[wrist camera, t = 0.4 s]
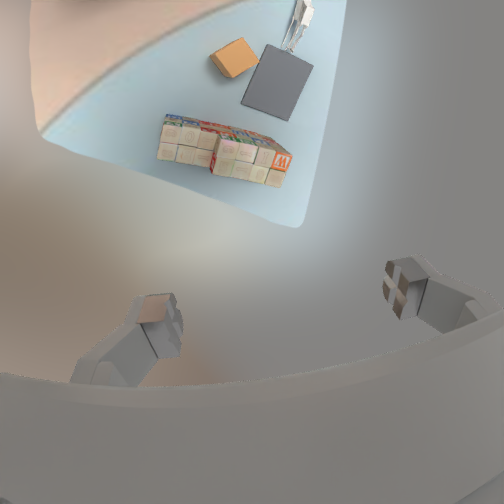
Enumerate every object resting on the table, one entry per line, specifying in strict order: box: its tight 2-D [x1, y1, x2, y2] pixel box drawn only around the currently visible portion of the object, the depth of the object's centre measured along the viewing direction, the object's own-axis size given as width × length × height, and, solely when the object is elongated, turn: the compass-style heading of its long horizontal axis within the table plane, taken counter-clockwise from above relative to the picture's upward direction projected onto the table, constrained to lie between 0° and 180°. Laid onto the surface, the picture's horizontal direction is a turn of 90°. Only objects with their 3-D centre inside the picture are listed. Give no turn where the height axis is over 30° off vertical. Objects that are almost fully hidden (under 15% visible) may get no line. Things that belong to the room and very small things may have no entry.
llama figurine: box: [281, 0, 315, 53], centre depth 36 cm, size 2×11×18 cm
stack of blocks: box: [157, 114, 292, 188], centre depth 47 cm, size 21×6×12 cm, turn 71°
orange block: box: [209, 37, 260, 78], centre depth 39 cm, size 5×5×9 cm
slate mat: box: [241, 44, 313, 121], centre depth 46 cm, size 13×10×1 cm
